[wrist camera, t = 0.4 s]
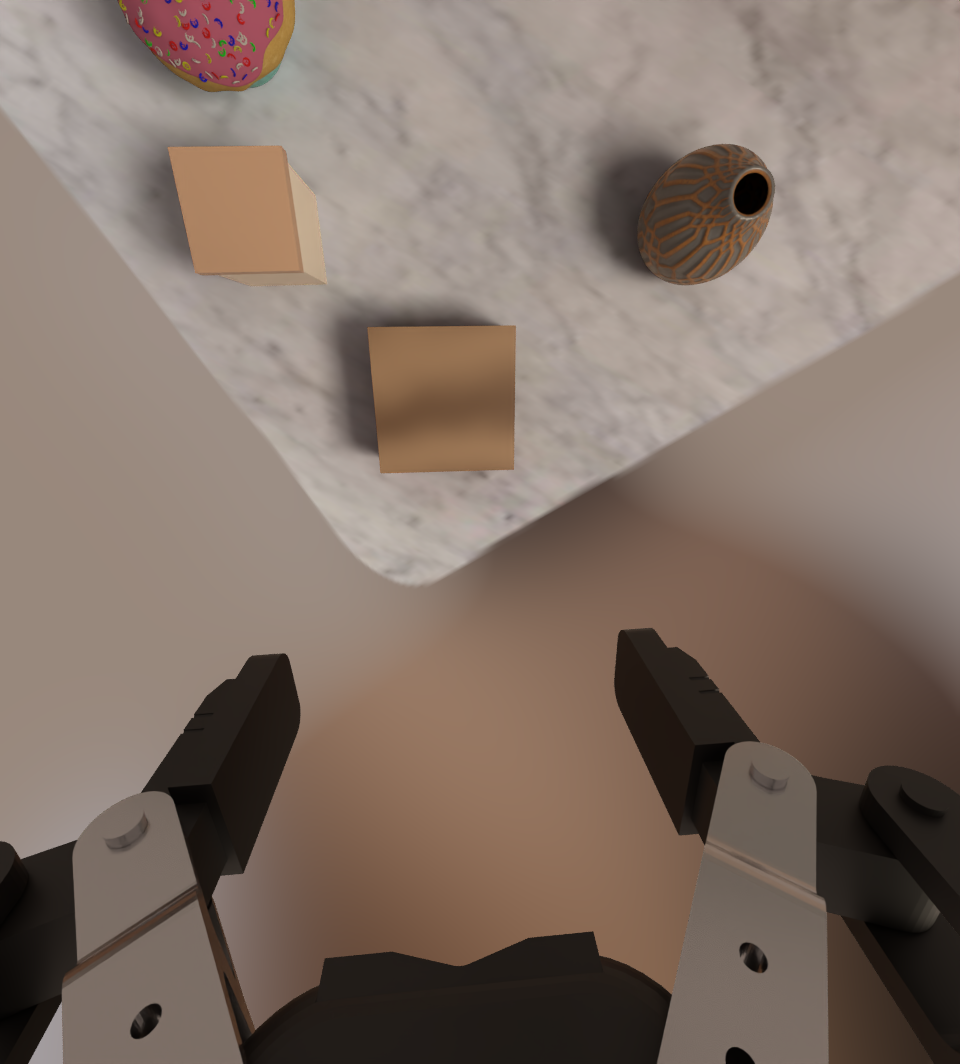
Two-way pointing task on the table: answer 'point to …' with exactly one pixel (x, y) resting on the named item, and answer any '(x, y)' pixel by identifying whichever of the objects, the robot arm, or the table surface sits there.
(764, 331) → the table surface
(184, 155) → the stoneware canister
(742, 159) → the vase
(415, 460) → the brown wooden block
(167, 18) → the cupcake
